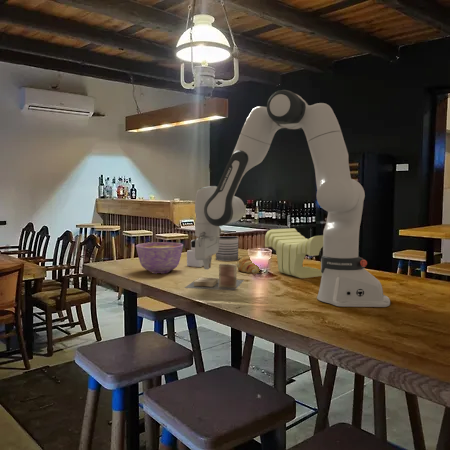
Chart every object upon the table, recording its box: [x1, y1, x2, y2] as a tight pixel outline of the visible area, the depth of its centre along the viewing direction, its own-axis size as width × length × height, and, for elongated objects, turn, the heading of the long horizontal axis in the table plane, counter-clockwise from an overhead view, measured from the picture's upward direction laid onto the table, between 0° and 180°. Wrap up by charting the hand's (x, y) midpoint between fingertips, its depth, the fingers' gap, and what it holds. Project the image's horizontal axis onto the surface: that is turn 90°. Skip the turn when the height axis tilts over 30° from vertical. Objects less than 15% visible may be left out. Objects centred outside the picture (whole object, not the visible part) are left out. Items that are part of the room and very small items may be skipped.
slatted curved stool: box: [264, 228, 323, 279], centre depth 192 cm, size 30×16×18 cm, turn 29°
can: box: [215, 235, 239, 262], centre depth 233 cm, size 11×11×12 cm
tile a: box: [193, 276, 219, 287], centre depth 169 cm, size 7×2×8 cm
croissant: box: [237, 255, 261, 275], centre depth 201 cm, size 21×10×8 cm, turn 16°
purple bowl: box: [135, 241, 184, 274], centre depth 198 cm, size 20×20×12 cm
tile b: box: [218, 263, 238, 289], centre depth 165 cm, size 6×2×8 cm, turn 77°
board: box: [184, 278, 245, 291], centre depth 170 cm, size 18×18×1 cm
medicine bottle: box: [186, 239, 204, 268], centre depth 214 cm, size 7×7×12 cm
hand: (207, 268), depth 170 cm, fingers closed
